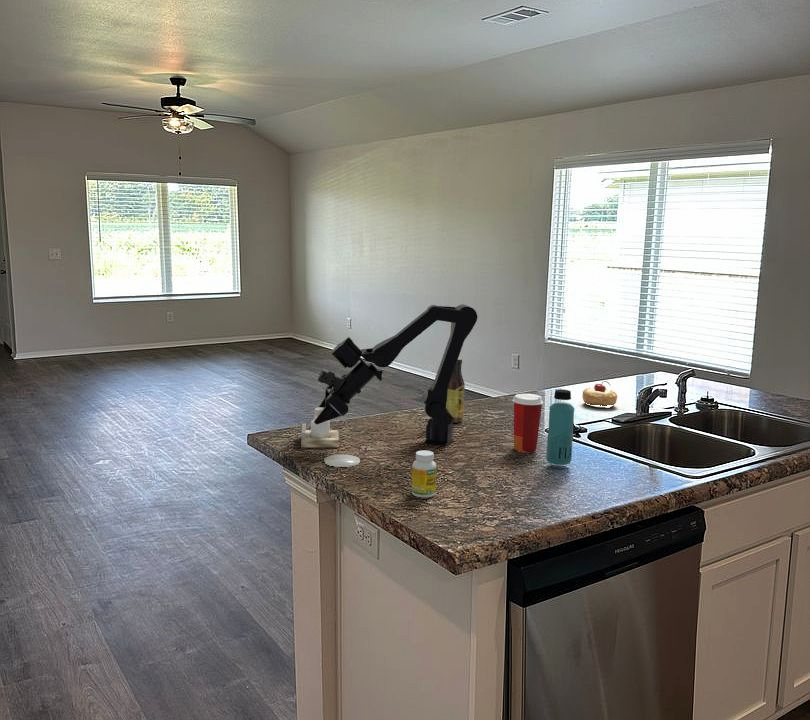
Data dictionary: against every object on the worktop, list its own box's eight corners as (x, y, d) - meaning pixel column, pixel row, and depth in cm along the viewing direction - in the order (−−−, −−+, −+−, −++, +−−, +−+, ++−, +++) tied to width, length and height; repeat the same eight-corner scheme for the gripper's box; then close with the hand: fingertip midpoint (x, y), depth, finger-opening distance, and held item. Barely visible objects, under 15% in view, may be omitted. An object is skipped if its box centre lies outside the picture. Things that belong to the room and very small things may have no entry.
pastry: (575, 402, 262) (577, 377, 260) (605, 401, 265) (607, 377, 263) (591, 410, 250) (593, 384, 249) (623, 409, 253) (625, 384, 252)
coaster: (366, 460, 187) (366, 458, 187) (348, 469, 179) (348, 467, 179) (336, 454, 191) (336, 452, 191) (317, 463, 183) (317, 461, 183)
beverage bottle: (556, 472, 182) (561, 393, 179) (539, 464, 188) (544, 388, 185) (576, 469, 185) (582, 391, 182) (559, 461, 191) (564, 386, 188)
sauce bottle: (461, 424, 226) (464, 361, 222) (441, 422, 227) (444, 359, 224) (464, 419, 232) (467, 357, 229) (444, 417, 233) (447, 356, 230)
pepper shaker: (320, 439, 205) (320, 406, 203) (330, 442, 202) (330, 408, 201) (309, 442, 202) (310, 408, 200) (319, 445, 199) (320, 411, 198)
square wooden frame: (337, 437, 208) (338, 423, 207) (338, 447, 198) (338, 432, 197) (302, 437, 207) (302, 423, 206) (301, 447, 197) (301, 432, 196)
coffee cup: (543, 448, 203) (546, 395, 200) (535, 455, 196) (539, 401, 193) (514, 443, 206) (517, 391, 204) (505, 451, 199) (508, 397, 196)
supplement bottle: (419, 488, 168) (421, 447, 166) (439, 493, 165) (441, 452, 164) (406, 494, 164) (408, 453, 162) (427, 500, 161) (429, 457, 159)
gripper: (335, 353, 208) (295, 391, 208) (336, 365, 190) (293, 406, 190) (362, 380, 210) (323, 418, 211) (366, 395, 192) (323, 436, 192)
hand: (315, 419), depth 201 cm, fingers open, 9 cm apart
